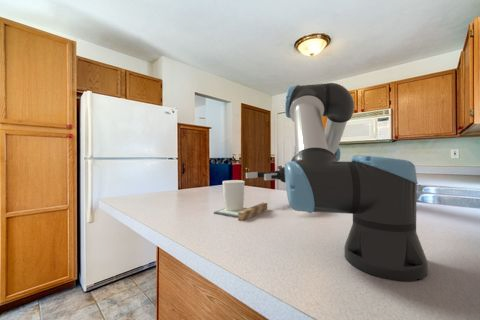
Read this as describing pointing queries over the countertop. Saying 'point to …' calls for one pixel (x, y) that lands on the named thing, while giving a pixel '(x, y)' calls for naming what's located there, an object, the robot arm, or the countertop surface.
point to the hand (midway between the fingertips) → (254, 176)
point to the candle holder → (233, 194)
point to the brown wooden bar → (252, 211)
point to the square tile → (228, 212)
